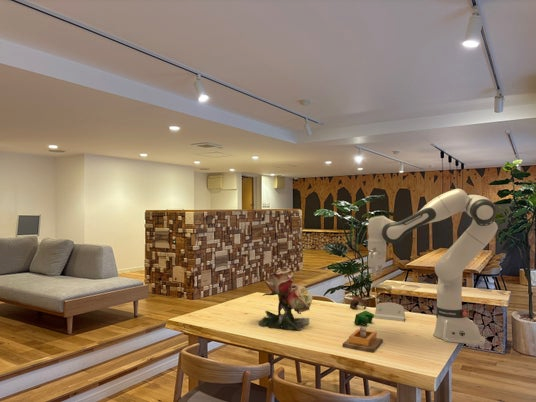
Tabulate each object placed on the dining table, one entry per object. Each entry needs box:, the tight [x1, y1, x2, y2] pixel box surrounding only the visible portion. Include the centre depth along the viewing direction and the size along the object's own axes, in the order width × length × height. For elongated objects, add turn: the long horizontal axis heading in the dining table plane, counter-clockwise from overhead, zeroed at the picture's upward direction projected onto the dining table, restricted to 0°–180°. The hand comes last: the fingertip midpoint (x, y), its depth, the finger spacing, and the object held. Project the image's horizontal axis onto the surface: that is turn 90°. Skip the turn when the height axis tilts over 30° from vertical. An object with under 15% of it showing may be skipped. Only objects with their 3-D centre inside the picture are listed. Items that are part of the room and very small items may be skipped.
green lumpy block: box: [353, 310, 375, 327], centre depth 214 cm, size 12×6×9 cm, turn 133°
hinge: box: [374, 302, 406, 323], centre depth 225 cm, size 17×5×10 cm, turn 67°
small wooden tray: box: [348, 328, 378, 347], centre depth 181 cm, size 9×13×3 cm
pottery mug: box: [349, 296, 367, 310], centre depth 248 cm, size 12×10×8 cm
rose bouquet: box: [257, 267, 314, 331], centre depth 216 cm, size 26×29×30 cm
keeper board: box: [342, 325, 384, 354], centre depth 181 cm, size 14×16×8 cm
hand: (377, 274), depth 199 cm, fingers open, 8 cm apart
